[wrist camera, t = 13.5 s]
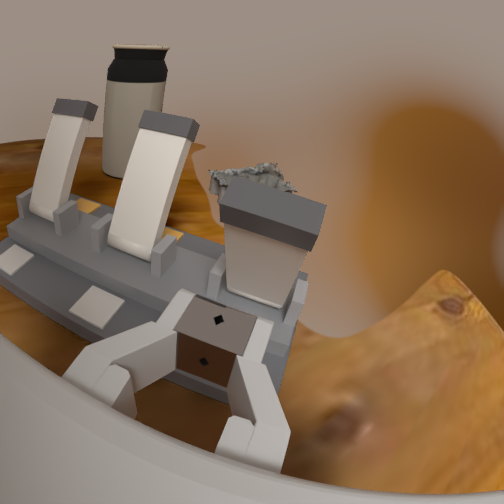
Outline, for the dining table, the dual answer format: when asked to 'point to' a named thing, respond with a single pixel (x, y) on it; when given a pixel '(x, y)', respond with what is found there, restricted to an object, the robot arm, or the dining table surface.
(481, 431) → the dining table surface
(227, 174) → the egg carton
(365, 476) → the dining table surface
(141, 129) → the lever middle
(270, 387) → the robot arm
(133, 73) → the travel mug
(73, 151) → the lever inner
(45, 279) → the switch panel
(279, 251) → the lever outer
